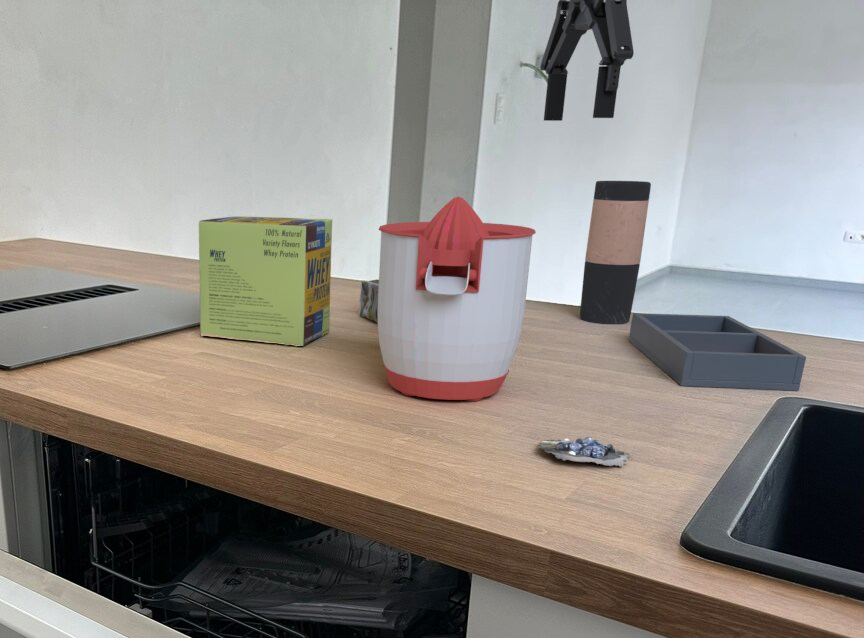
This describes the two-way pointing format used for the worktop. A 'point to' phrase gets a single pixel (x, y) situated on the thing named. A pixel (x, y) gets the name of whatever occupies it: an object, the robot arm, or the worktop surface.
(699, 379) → the grey divided tray
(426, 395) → the citrus juicer
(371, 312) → the grey stone block
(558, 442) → the blueberries
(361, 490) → the worktop surface
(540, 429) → the worktop surface
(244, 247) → the protein box
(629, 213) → the travel mug
